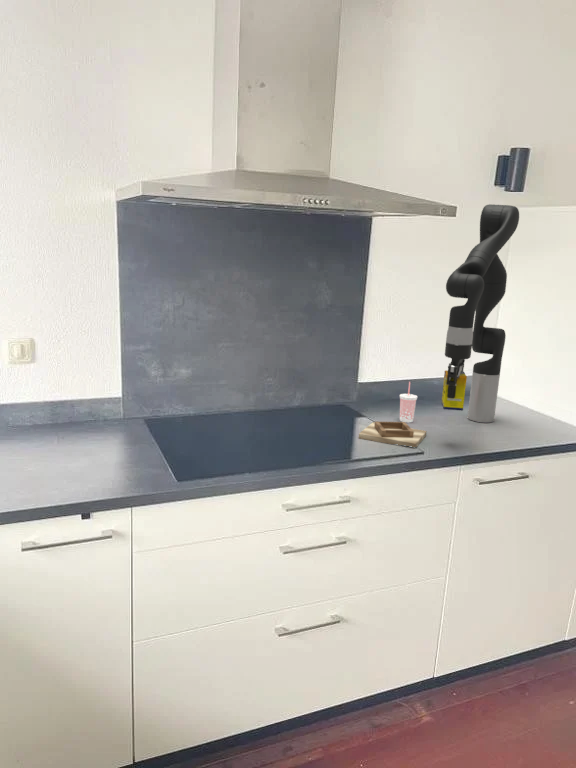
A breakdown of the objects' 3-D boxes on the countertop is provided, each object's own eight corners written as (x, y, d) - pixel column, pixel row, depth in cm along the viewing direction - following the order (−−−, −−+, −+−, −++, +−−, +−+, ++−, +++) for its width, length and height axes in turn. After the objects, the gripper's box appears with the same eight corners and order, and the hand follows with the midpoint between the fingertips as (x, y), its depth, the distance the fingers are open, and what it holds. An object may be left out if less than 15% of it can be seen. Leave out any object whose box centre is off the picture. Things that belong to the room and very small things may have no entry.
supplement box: (440, 404, 184) (444, 370, 181) (460, 405, 183) (464, 371, 181) (442, 409, 178) (446, 374, 176) (463, 410, 177) (467, 375, 175)
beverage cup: (413, 423, 203) (417, 384, 200) (396, 421, 205) (399, 382, 202) (416, 419, 209) (419, 381, 206) (398, 417, 211) (402, 379, 208)
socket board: (372, 426, 199) (373, 416, 198) (426, 435, 191) (427, 425, 190) (358, 438, 185) (359, 427, 184) (415, 448, 178) (416, 437, 177)
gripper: (450, 337, 184) (445, 388, 188) (441, 343, 171) (435, 398, 175) (475, 339, 181) (469, 392, 184) (468, 346, 168) (461, 402, 172)
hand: (453, 395), depth 180 cm, fingers closed on supplement box, 7 cm apart
